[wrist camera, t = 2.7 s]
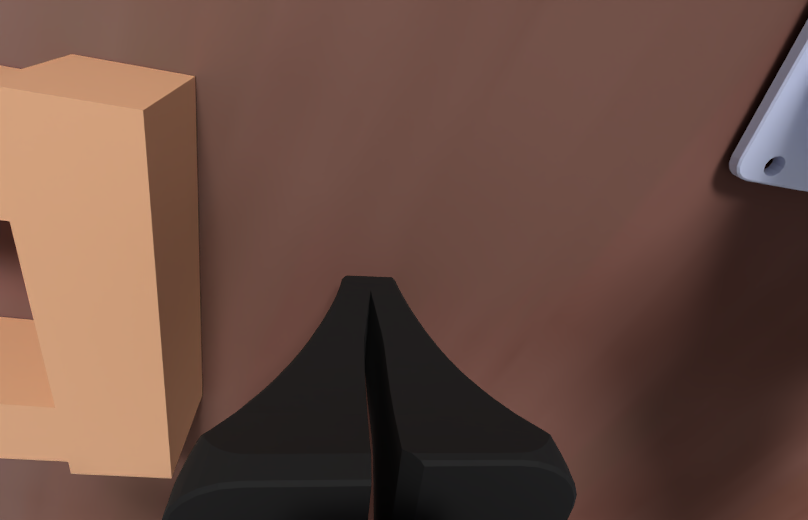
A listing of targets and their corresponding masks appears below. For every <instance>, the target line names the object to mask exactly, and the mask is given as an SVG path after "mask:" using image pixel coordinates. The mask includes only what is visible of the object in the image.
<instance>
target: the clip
mask: <svg viewBox="0 0 808 520" xmlns="http://www.w3.org/2000/svg"><path fill="white" fill-rule="evenodd" d="M0 220H3V221H10V225H11V229H12V233H13V237H14V241H15V245H16V249H17V253H18V257H19V262H20V266H21V270H22V274H23V278H24V282H25V286H26V290H27V294H28V298H29V303H30V307H31V311H32V315H33V319H34V320H28V319H17V318H7V317H0V458H8V459H28V460H48V461H67V462H68V463H69V467H70V471H71V474H90V475H111V476H132V477H154V478H172V476H173V473H174V471H175V468H176V465H177V463H178V460H179V457H180V454H181V452H182V449H183V446H184V444H185V441H186V438H187V435H188V433H189V430H190V427H191V425H192V422H193V419H194V417H195V414H196V411H197V408H198V406H199V403H200V400H201V398H202V395H203V394H202V350H201V307H200V263H199V219H198V175H197V132H196V88H195V76H191V75H185V74H179V73H174V72H168V71H163V70H157V69H152V68H146V67H141V66H135V65H129V64H124V63H118V62H113V61H107V60H102V59H96V58H91V57H85V56H79V55H74V54H71V55H68V56H64V57H61V58H57V59H54V60H51V61H47V62H44V63H41V64H37V65H34V66H30V67H27V68H24V69H18V68H12V67H6V66H0Z"/></svg>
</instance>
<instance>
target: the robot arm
mask: <svg viewBox="0 0 808 520" xmlns="http://www.w3.org/2000/svg"><path fill="white" fill-rule="evenodd" d="M772 158H774V159H773V162H772V163H771V164H770V166H769V167H768V168H766V169H764V168H765V165H766V164H767V163H768V161H769V160H770V159H772ZM729 169H730V171H731V172H732V174H733V175H735V176H737V177H739V178H741V179H743V180H745V181H750V182H756V183H761V184H767V185H772V186H778V187H784V188H789V189H795V190H801V191H806V192H808V19H807V21H806V23H805V25H804V27H803V28H802V30H801V32H800V34H799V36H798V37H797V39H796V41H795V43H794V45H793V46H792V48H791V50H790V52H789V54H788V55H787V57H786V59H785V61H784V62H783V64H782V66H781V68H780V70H779V71H778V73H777V75H776V77H775V79H774V80H773V82H772V84H771V86H770V88H769V89H768V91H767V93H766V95H765V97H764V98H763V100H762V102H761V104H760V106H759V107H758V109H757V111H756V113H755V114H754V116H753V118H752V120H751V122H750V123H749V125H748V127H747V129H746V131H745V132H744V134H743V136H742V138H741V140H740V141H739V143H738V145H737V147H736V149H735V150H734V152H733V154H732V156H731V159H730V161H729ZM365 378H366V387H367V397H368V406H369V415H370V424H371V433H372V444H373V478H374V520H567V519H568V517H569V515H570V513H571V511H572V509H573V506H574V503H575V499H576V495H577V494H576V488H575V483H574V481H573V479H572V476H571V474H570V471H569V469H568V467H567V465H566V463H565V461H564V459H563V457H562V455H561V453H560V451H559V449H558V448H557V446H556V444H555V442H554V441H553V439H552V437H551V435H550V434H548V433H547V432H545V431H543V430H542V429H540V428H538V427H537V426H535V425H533V424H532V423H530V422H528V421H527V420H525V419H523V418H522V417H520V416H518V415H517V414H515V413H513V412H512V411H511V410H509V409H508V408H506V407H505V406H503V405H502V404H501V403H499V402H498V401H496V400H495V399H494V398H492V397H491V396H490V395H488V394H487V393H486V392H484V391H483V390H482V389H481V388H480V387H478V386H477V385H476V384H475V383H474V382H473V381H471V380H470V379H469V378H468V377H467V376H465V375H464V374H463V373H462V372H461V371H460V370H459V369H458V368H457V367H456V366H455V365H454V364H453V363H452V362H451V361H450V360H449V359H448V358H447V357H446V355H445V354H444V353H443V352H442V351H441V350H440V349H439V347H438V346H437V345H436V344H435V343H434V341H433V340H432V339H431V337H430V336H429V335H428V334H427V332H426V331H425V330H424V328H423V327H422V325H421V324H420V323H419V321H418V320H417V318H416V317H415V315H414V314H413V312H412V311H411V309H410V308H409V306H408V304H407V303H406V301H405V299H404V297H403V296H402V294H401V292H400V290H399V288H398V286H397V284H396V282H395V280H394V279H393V278H392V277H367V276H345V277H344V278H343V279H342V281H341V285H340V288H339V291H338V293H337V295H336V297H335V300H334V302H333V304H332V305H331V307H330V309H329V311H328V312H327V314H326V316H325V318H324V319H323V321H322V323H321V324H320V326H319V327H318V328H317V330H316V331H315V333H314V334H313V336H312V337H311V339H310V340H309V341H308V343H307V344H306V345H305V346H304V348H303V349H302V350H301V351H300V353H299V354H298V355H297V356H296V357H295V359H294V360H293V361H292V362H291V363H290V364H289V365H288V366H287V367H286V368H285V369H284V370H283V371H282V372H281V373H280V374H279V376H278V377H277V378H276V379H275V380H274V381H272V382H271V383H270V384H269V385H268V386H267V387H266V388H265V389H264V390H263V391H261V392H260V393H259V394H258V395H257V396H255V397H254V398H253V399H252V400H251V401H249V402H248V403H247V404H246V405H245V406H243V407H242V408H241V409H240V410H238V411H237V412H236V413H234V414H233V415H231V416H230V417H228V418H227V419H226V420H224V421H223V422H221V423H220V424H218V425H217V426H215V427H214V428H212V429H211V430H209V431H208V432H206V433H205V434H203V435H201V436H200V438H199V439H198V441H197V443H196V444H195V446H194V448H193V449H192V451H191V453H190V454H189V456H188V458H187V460H186V462H185V464H184V466H183V468H182V470H181V471H180V473H179V476H178V478H177V480H176V482H175V484H174V487H173V489H172V492H171V495H170V498H169V501H168V504H167V507H166V509H165V512H164V515H163V518H162V520H368V512H369V503H370V493H371V450H370V441H369V430H368V418H367V404H366V388H365Z"/></svg>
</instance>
